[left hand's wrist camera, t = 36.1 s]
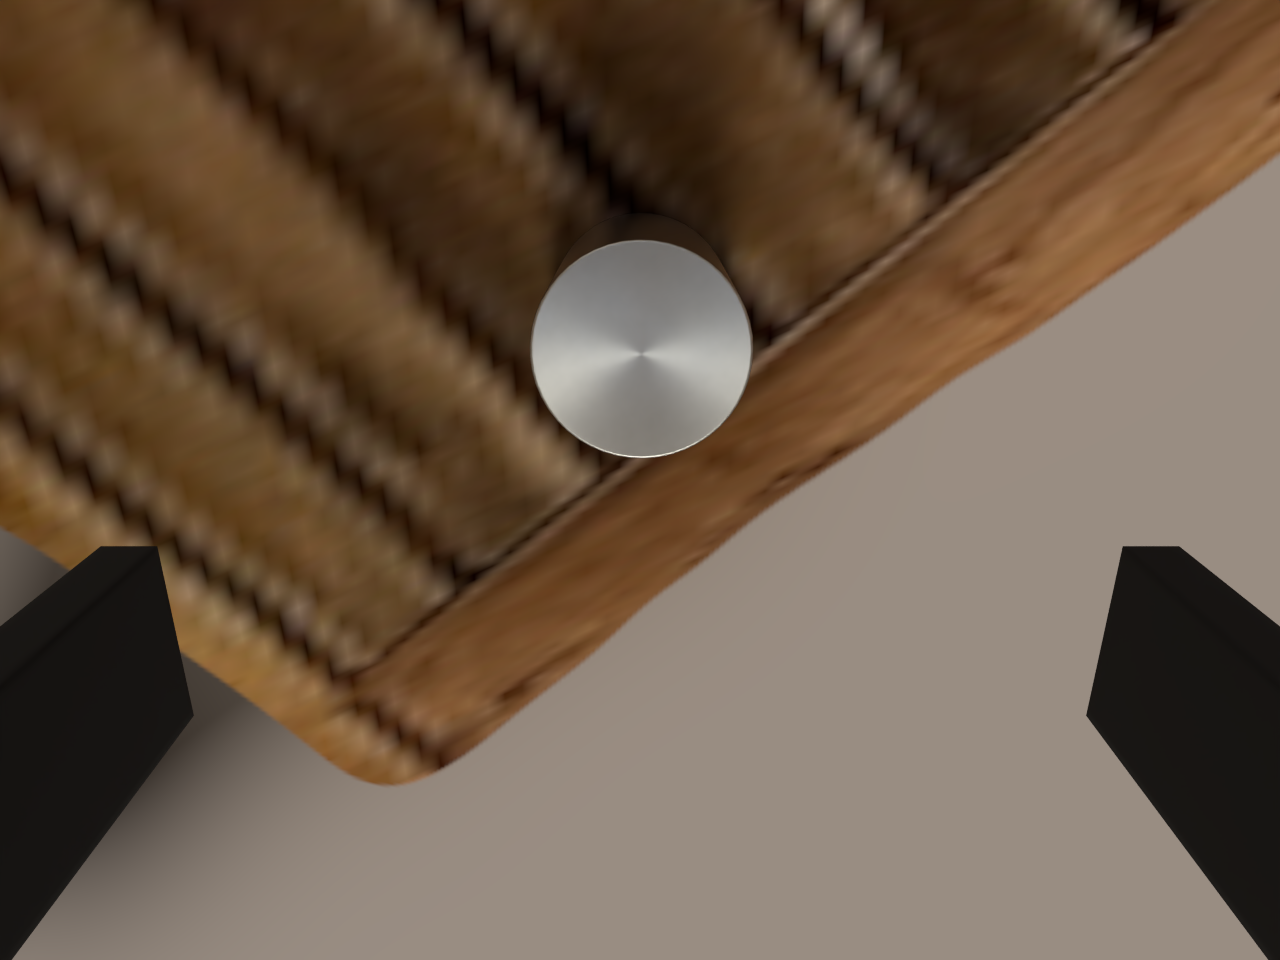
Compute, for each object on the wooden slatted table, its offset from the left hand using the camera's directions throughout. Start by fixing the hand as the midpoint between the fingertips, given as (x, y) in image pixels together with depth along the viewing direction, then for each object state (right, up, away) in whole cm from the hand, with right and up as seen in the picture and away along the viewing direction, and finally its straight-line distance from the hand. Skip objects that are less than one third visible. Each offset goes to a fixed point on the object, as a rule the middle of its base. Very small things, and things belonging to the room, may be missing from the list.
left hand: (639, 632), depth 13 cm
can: (0, +9, +22) cm, 24 cm away
